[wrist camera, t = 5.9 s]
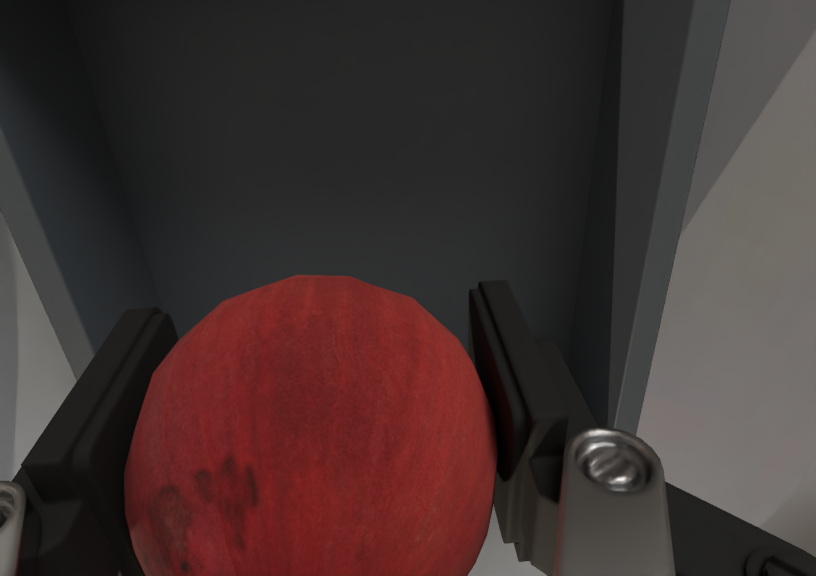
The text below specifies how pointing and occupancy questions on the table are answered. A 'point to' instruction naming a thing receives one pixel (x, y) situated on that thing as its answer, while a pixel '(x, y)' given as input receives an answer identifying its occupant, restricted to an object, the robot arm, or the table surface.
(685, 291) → the table surface
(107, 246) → the tub
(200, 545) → the onion
